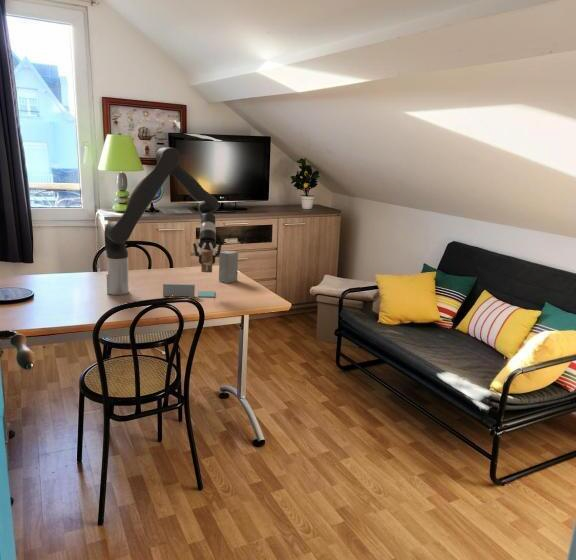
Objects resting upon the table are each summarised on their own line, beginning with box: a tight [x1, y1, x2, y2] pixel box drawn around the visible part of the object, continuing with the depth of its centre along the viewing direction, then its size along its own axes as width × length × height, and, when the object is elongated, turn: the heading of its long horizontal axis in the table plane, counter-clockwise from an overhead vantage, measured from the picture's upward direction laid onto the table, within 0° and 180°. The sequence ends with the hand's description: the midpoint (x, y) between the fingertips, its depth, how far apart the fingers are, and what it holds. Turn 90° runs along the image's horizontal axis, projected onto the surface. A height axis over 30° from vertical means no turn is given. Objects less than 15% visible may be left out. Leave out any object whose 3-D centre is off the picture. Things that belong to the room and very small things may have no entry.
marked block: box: [200, 249, 213, 274], centre depth 247 cm, size 5×5×10 cm
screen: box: [162, 283, 196, 298], centre depth 245 cm, size 14×1×6 cm, turn 98°
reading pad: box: [197, 290, 216, 298], centre depth 251 cm, size 8×8×1 cm
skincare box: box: [218, 250, 239, 284], centre depth 274 cm, size 8×7×16 cm
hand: (207, 263), depth 245 cm, fingers closed on marked block, 5 cm apart
